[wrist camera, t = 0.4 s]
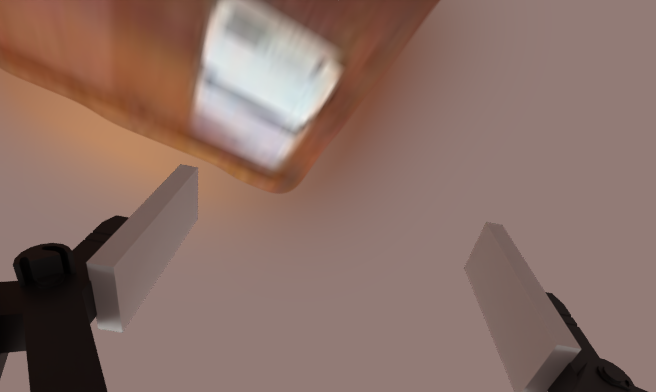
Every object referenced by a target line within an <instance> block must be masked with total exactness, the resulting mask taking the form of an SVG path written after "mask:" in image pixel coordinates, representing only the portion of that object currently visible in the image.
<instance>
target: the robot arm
mask: <svg viewBox="0 0 656 392" xmlns="http://www.w3.org/2000/svg"><path fill="white" fill-rule="evenodd" d="M197 210H198V168H197V167H192V166H187V165H182V164H180V165H179V167H178V168H177V169H176V170H175V171H174V172H173V173H172V174H171V175H170V176H169V177H168V178H167V179H166V180H165V181H164V182H163V183H162V184H161V185H160V186H159V187H158V188H157V189H156V190H155V191H154V193H153V194H152V195H151V196H150V197H149V198H148V199H147V200H146V201H145V202H144V203H143V204H142V205H141V206H140V207H139V208H138V209H137V210H136V211H135V212H134V213H133V214H132V215H131V216H130V217H129V218H128V217H122V216H114V217H112V218H110V219H108V220H106V221H104V222H102V223H101V224H100V225H99V226H98V227H97V228H96V229H95V230H94V231H93V233H90V234H89V235H88V236H87V237H86V238H85V240H83V241H82V242H81V243H80V244H79V245H78V246H77V247H76V248H75V249H73V250H71V249H70V248H69V247H68V246H66V245H63V244H57V243H48V244H40V245H37V246H34V247H30V248H29V249H27V250H25V251H23V252H21V253H20V254H19V255H18V256H17V257H16V258H15V260H14V263H13V267H14V270H15V273H16V276H17V279H18V281H10V282H0V378H1V375H2V372H3V368H4V365H5V362H6V359H7V356H8V353H9V352H18V351H26V352H27V361H28V372H29V382H30V392H107V388H106V384H105V380H104V377H103V373H102V369H101V365H100V361H99V357H98V354H97V349H96V346H95V342H94V338H93V334H92V330H91V327H90V323H91V322H92V321H93V320H94V318H95V317H96V319H97V324H98V328H99V329H104V330H110V331H116V332H123V331H124V330H125V328H126V327H127V325H128V324H129V322H130V320H131V319H132V318H133V316H134V315H135V313H136V311H137V310H138V309H139V307H140V305H141V304H142V302H143V301H144V299H145V298H146V296H147V295H148V293H149V292H150V290H151V289H152V287H153V286H154V284H155V283H156V281H157V280H158V278H159V277H160V275H161V274H162V272H163V271H164V269H165V267H166V266H167V265H168V263H169V262H170V260H171V258H172V257H173V256H174V254H175V252H176V251H177V249H178V248H179V246H180V245H181V243H182V242H183V240H184V239H185V237H186V236H187V234H188V233H189V231H190V230H191V228H192V227H193V225H194V224H195V222H196V221H197V219H198V215H197V214H198V213H197V212H198V211H197ZM464 269H465V271H466V274H467V276H468V279H469V281H470V284H471V286H472V288H473V291H474V293H475V296H476V298H477V301H478V303H479V306H480V308H481V311H482V313H483V316H484V318H485V321H486V323H487V326H488V328H489V331H490V333H491V335H492V338H493V340H494V343H495V345H496V348H497V350H498V353H499V355H500V358H501V360H502V362H503V365H504V367H505V370H506V373H507V375H508V377H509V380H510V383H511V385H512V387H513V390H514V392H547V391H548V392H647V391H645V390H643V389H640V388H638V387H635V386H634V384H633V382H632V381H631V379H630V378H629V377H628V376H627V375H626V374H625V372H624V371H623V370H621V369H620V368H619V367H617V366H616V365H614V364H613V363H611V362H609V361H607V360H605V359H601V358H599V356H598V355H597V353H596V352H595V350H594V349H593V347H592V346H591V344H590V343H589V342H588V340H587V338H586V337H585V335H584V334H583V332H582V331H581V329H580V328H579V327H577V323H576V322H575V320H574V319H573V318H572V317H571V314H570V313H569V312H568V310H567V309H566V307H565V306H564V304H563V303H562V302H560V300H558V299H557V298H556V297H555V296H554V295H553V294H552V293H547V292H545V291H544V289H543V288H542V287H541V285H540V283H539V282H538V280H537V279H536V277H535V275H534V274H533V272H532V271H531V269H530V268H529V266H528V264H527V263H526V261H525V260H524V258H523V257H522V255H521V253H520V252H519V250H518V249H517V247H516V246H515V244H514V243H513V241H512V239H511V238H510V236H509V235H508V233H507V231H506V230H505V228H504V227H503V225H500V224H495V223H489V222H486V223H485V225H484V227H483V230H482V232H481V234H480V236H479V238H478V240H477V242H476V244H475V246H474V248H473V250H472V252H471V254H470V257H469V259H468V261H467V263H466V265H465V267H464Z"/></svg>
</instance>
